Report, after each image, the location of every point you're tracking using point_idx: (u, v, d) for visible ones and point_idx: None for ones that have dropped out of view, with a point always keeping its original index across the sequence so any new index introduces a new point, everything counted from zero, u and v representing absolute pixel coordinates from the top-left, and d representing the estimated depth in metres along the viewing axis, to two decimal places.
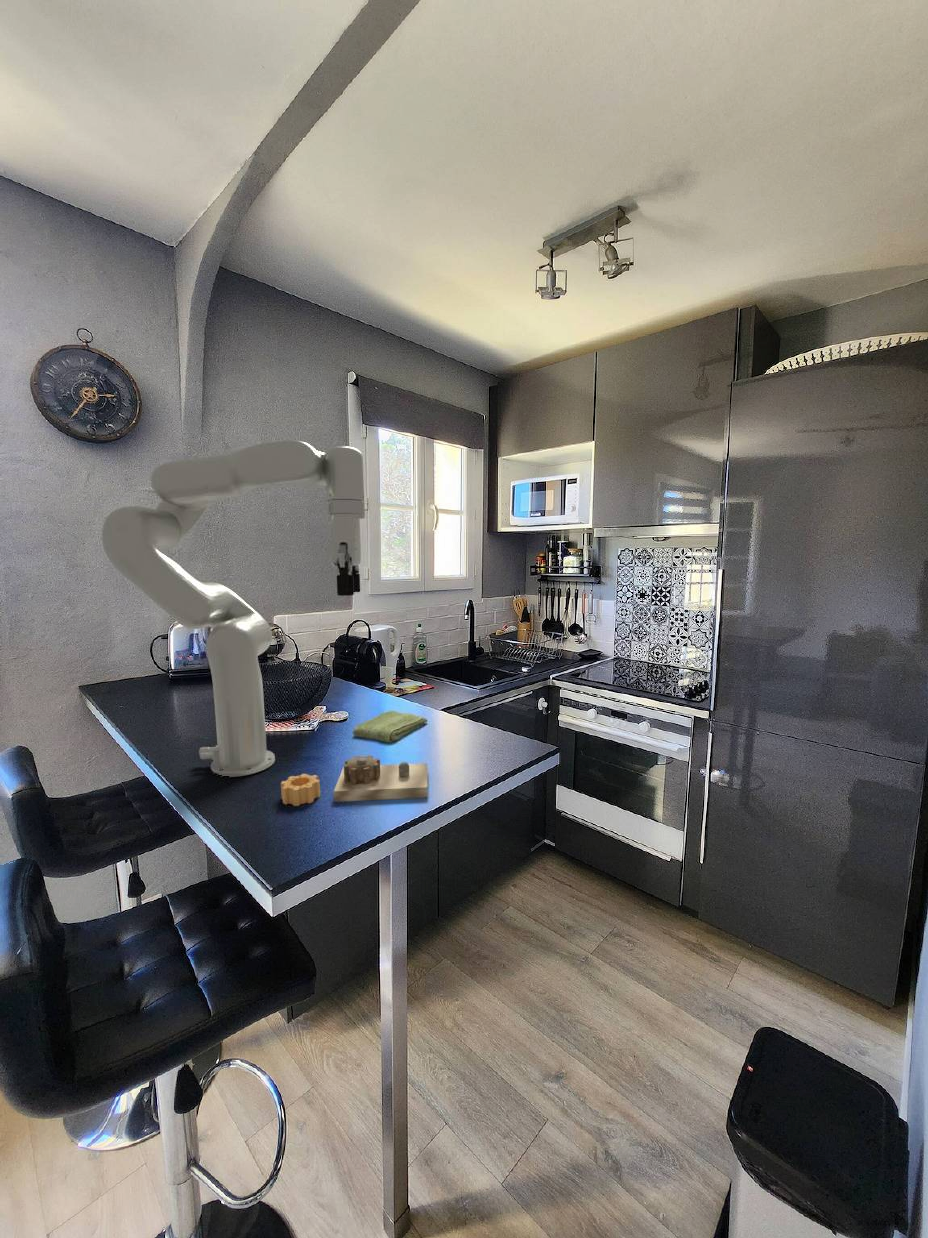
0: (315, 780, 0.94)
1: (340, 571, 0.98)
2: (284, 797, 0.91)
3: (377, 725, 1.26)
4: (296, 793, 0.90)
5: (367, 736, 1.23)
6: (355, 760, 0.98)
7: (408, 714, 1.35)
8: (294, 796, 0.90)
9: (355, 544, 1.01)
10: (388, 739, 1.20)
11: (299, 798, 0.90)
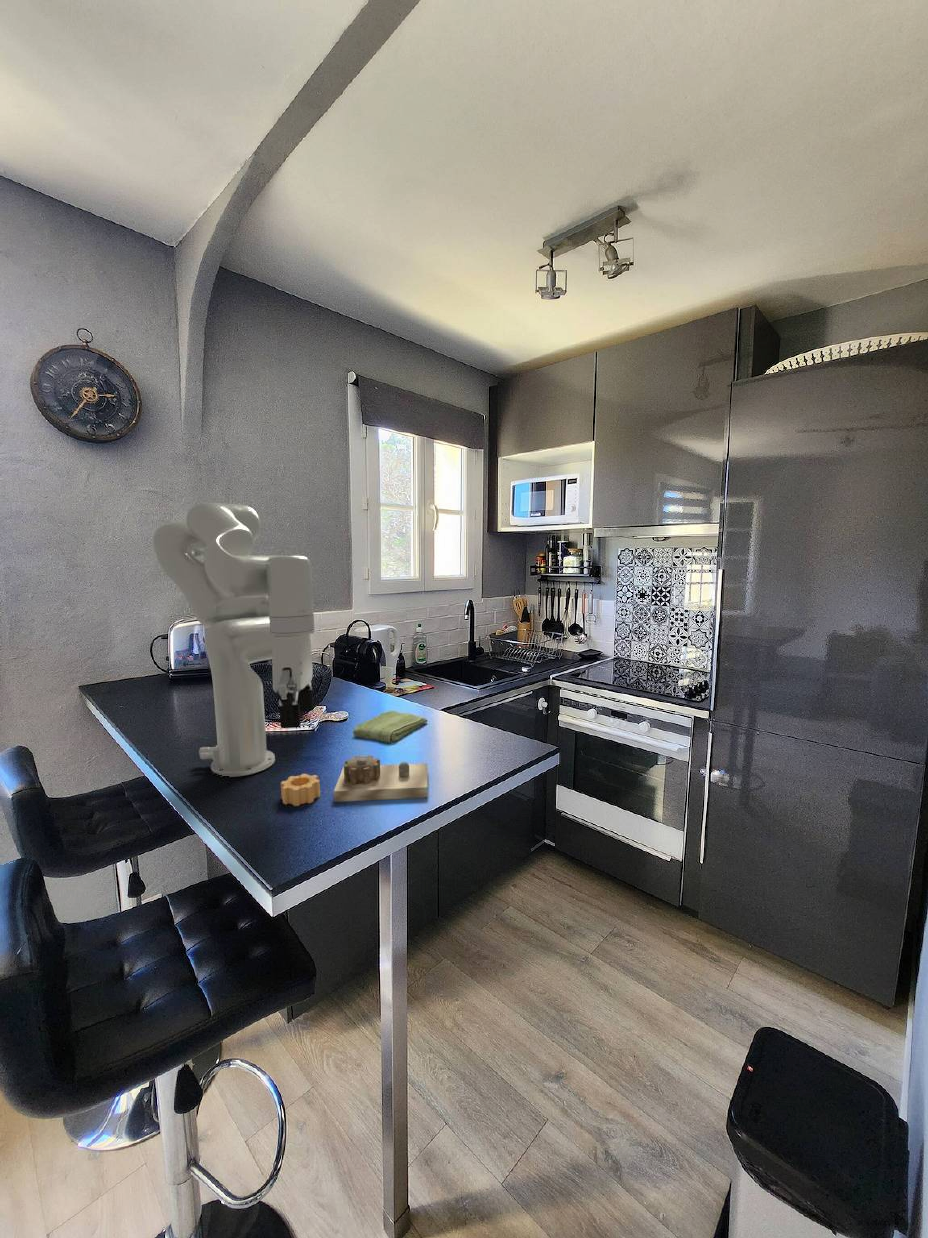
0: (315, 780, 0.94)
1: (282, 703, 0.84)
2: (284, 797, 0.91)
3: (377, 725, 1.25)
4: (296, 793, 0.90)
5: (367, 736, 1.23)
6: (355, 760, 0.98)
7: (408, 714, 1.35)
8: (294, 796, 0.90)
9: (302, 668, 0.87)
10: (388, 739, 1.20)
11: (299, 798, 0.90)
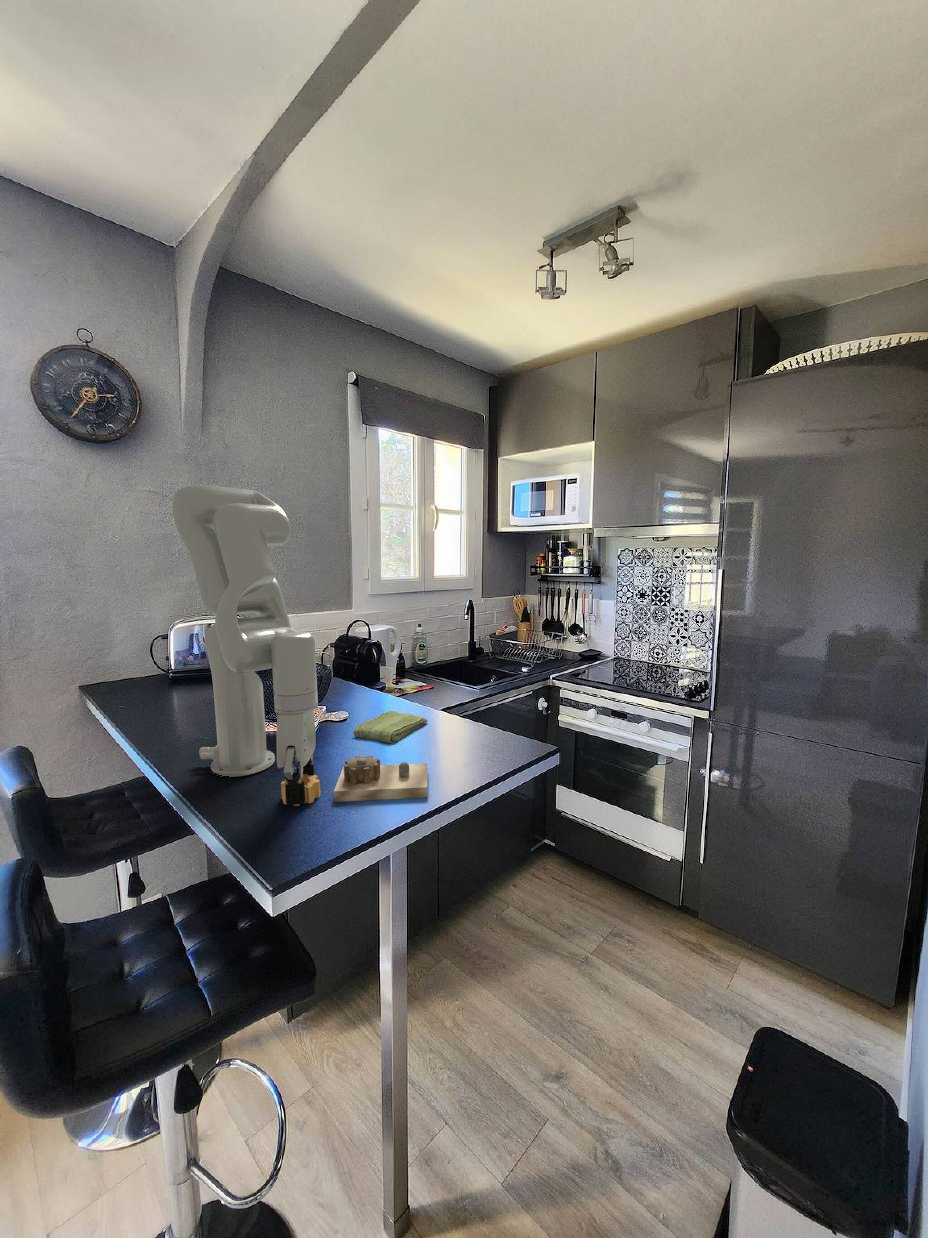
0: (315, 780, 0.94)
1: (288, 782, 0.87)
2: (284, 797, 0.91)
3: (377, 725, 1.25)
4: None
5: (368, 736, 1.23)
6: (355, 760, 0.98)
7: (408, 714, 1.35)
8: None
9: (305, 745, 0.89)
10: (389, 739, 1.20)
11: None
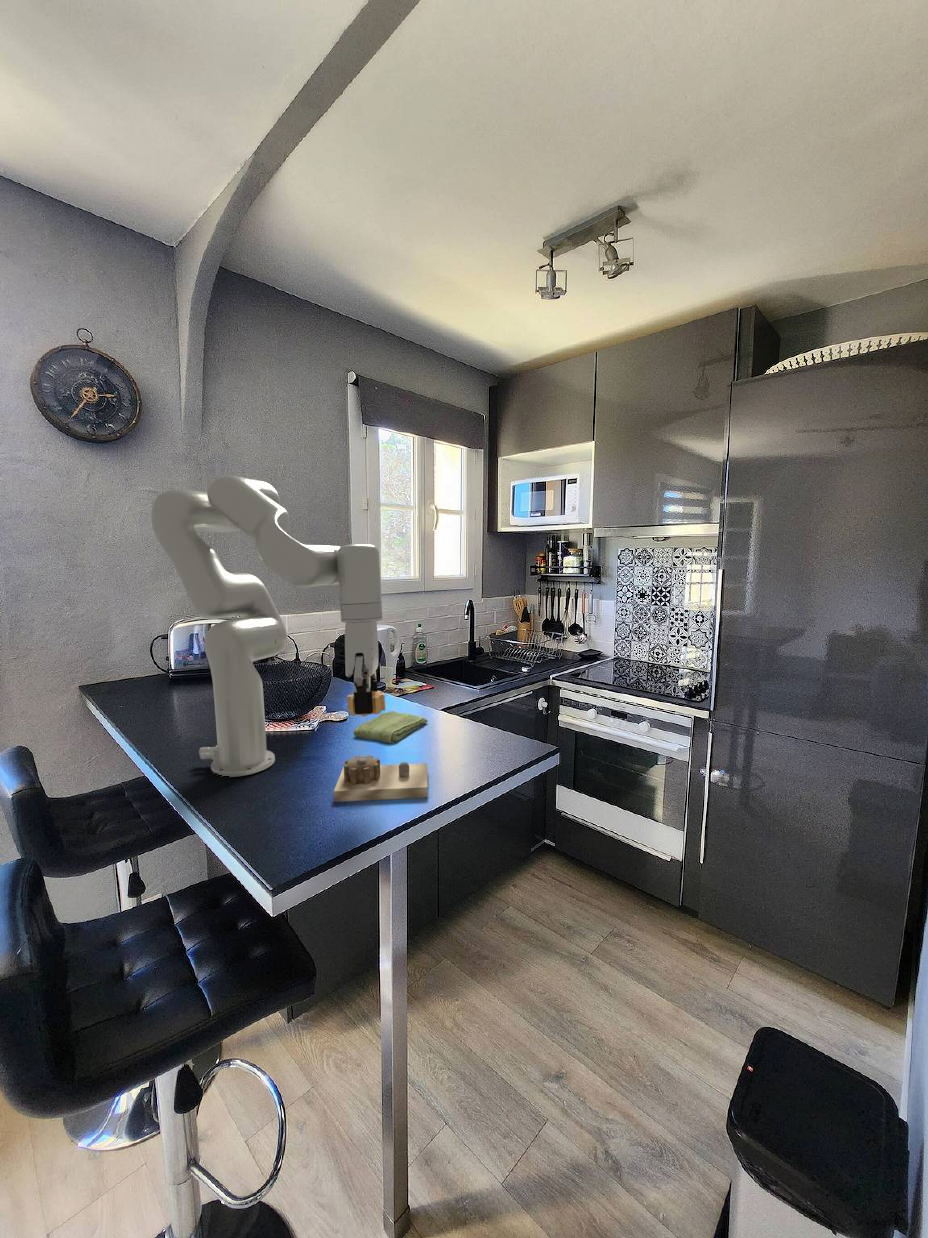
0: (380, 694, 0.94)
1: (357, 689, 0.88)
2: (352, 708, 0.91)
3: (378, 726, 1.25)
4: None
5: (368, 737, 1.23)
6: (355, 760, 0.98)
7: (408, 714, 1.35)
8: None
9: (373, 653, 0.89)
10: (390, 740, 1.20)
11: None
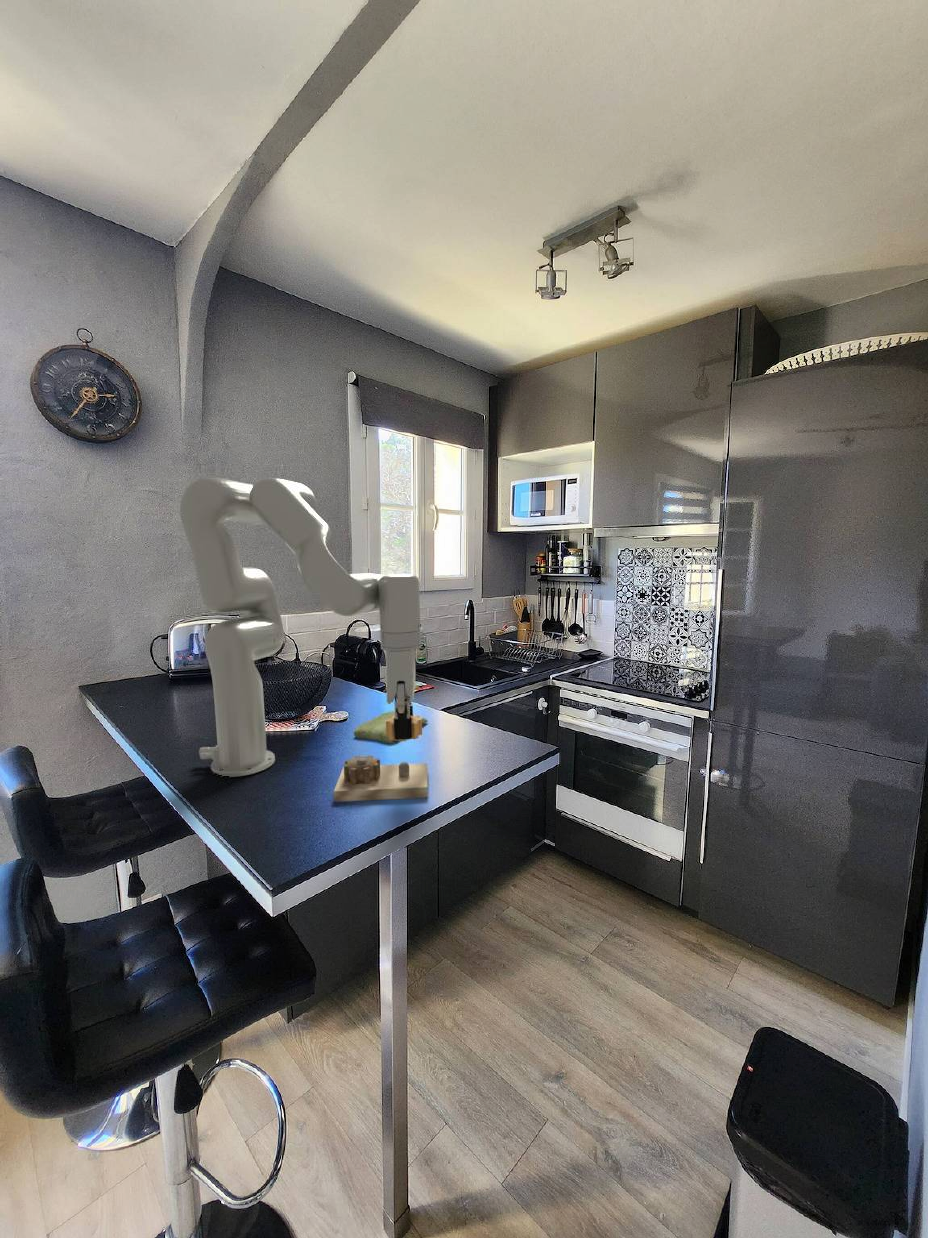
0: (418, 718, 0.97)
1: (398, 716, 0.90)
2: (391, 733, 0.94)
3: (378, 726, 1.25)
4: None
5: (368, 737, 1.23)
6: (355, 760, 0.98)
7: None
8: None
9: (413, 681, 0.92)
10: (390, 740, 1.20)
11: None
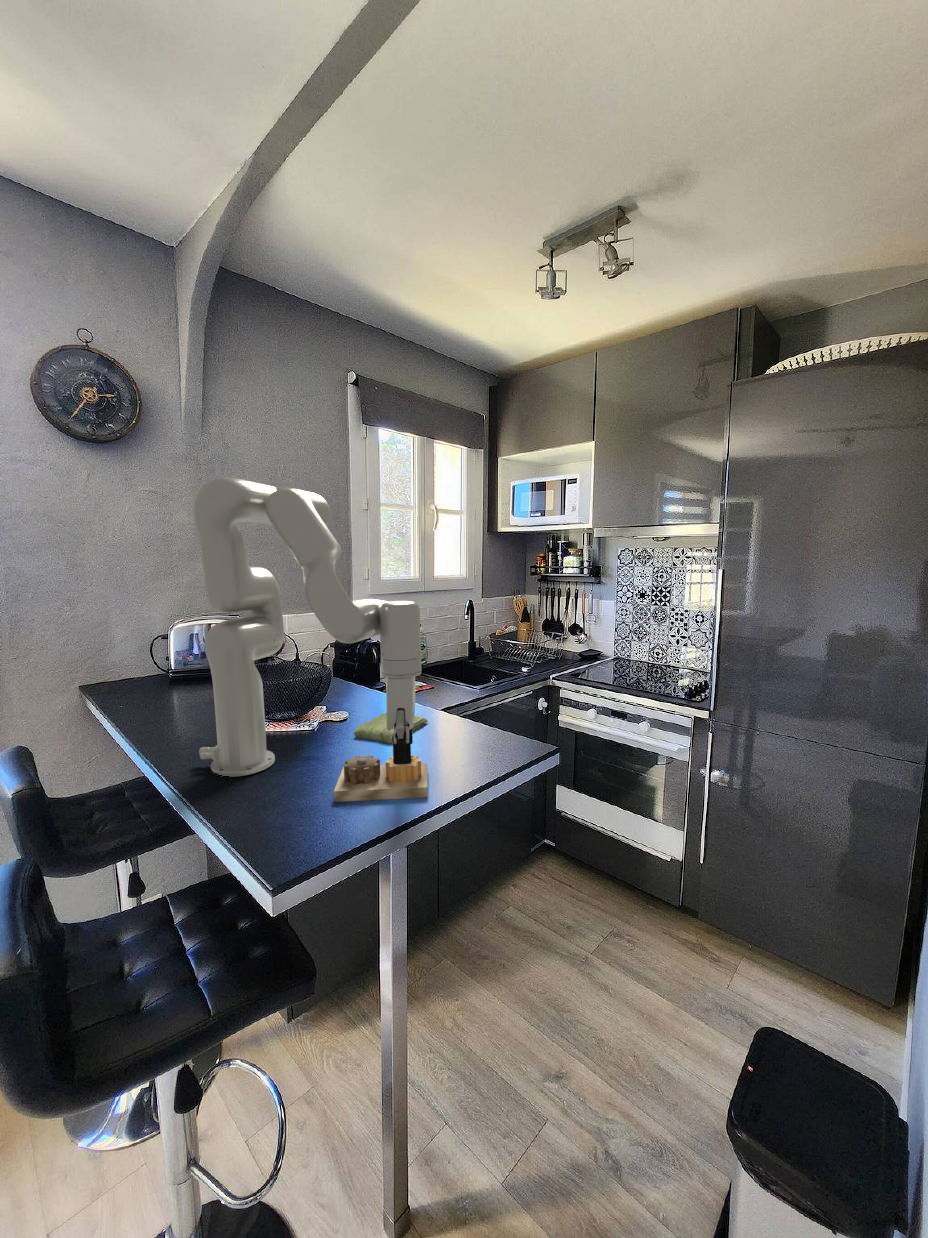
0: (417, 759, 0.98)
1: (398, 741, 0.90)
2: (391, 775, 0.95)
3: (378, 726, 1.25)
4: (403, 771, 0.94)
5: (369, 737, 1.22)
6: (355, 760, 0.98)
7: None
8: (401, 774, 0.94)
9: (413, 708, 0.92)
10: (390, 740, 1.20)
11: (405, 776, 0.94)
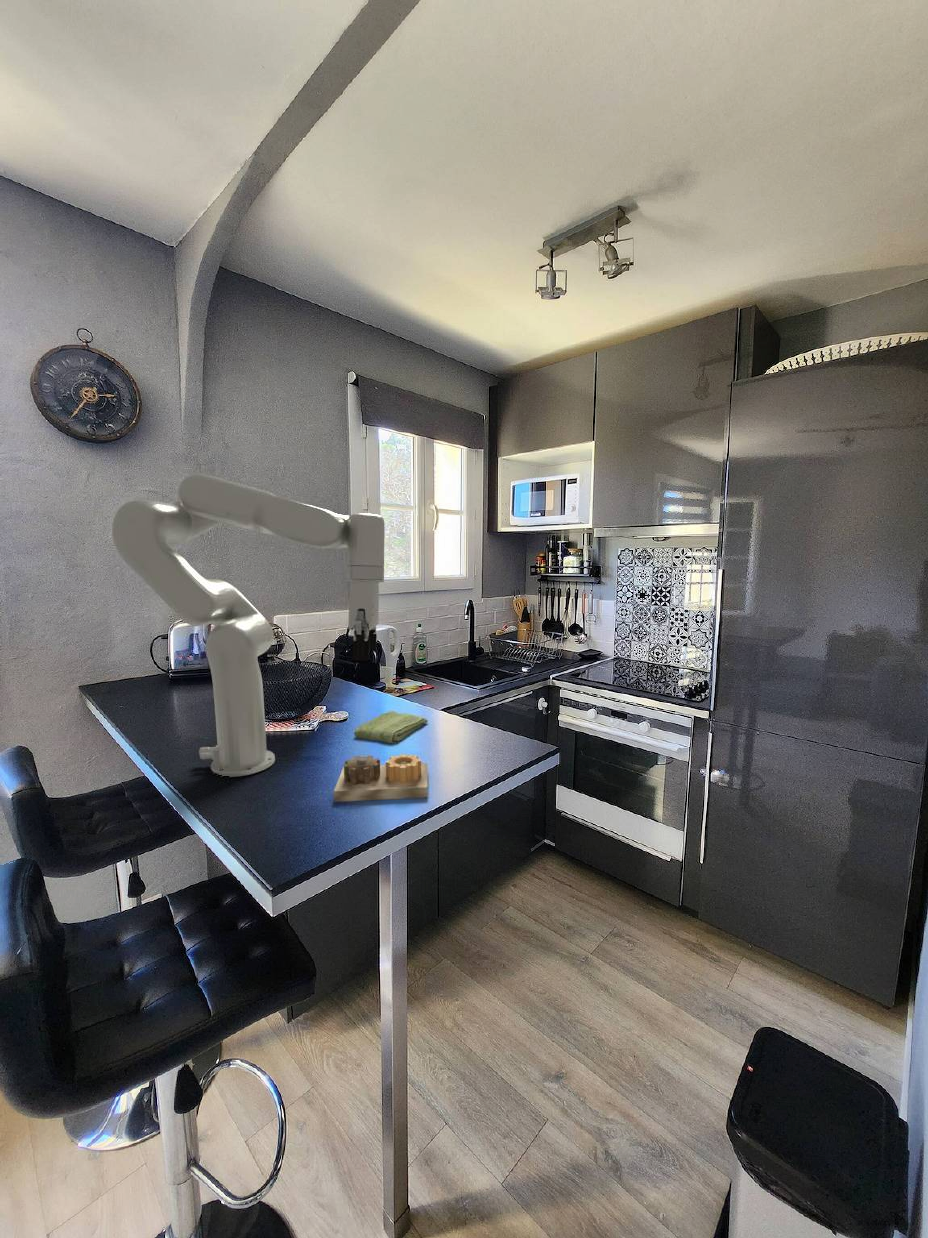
0: (417, 759, 0.98)
1: (356, 638, 0.99)
2: (391, 775, 0.95)
3: (378, 726, 1.25)
4: (403, 771, 0.94)
5: (369, 737, 1.22)
6: (355, 760, 0.98)
7: (408, 714, 1.35)
8: (401, 774, 0.94)
9: (373, 610, 1.02)
10: (391, 740, 1.19)
11: (405, 776, 0.94)
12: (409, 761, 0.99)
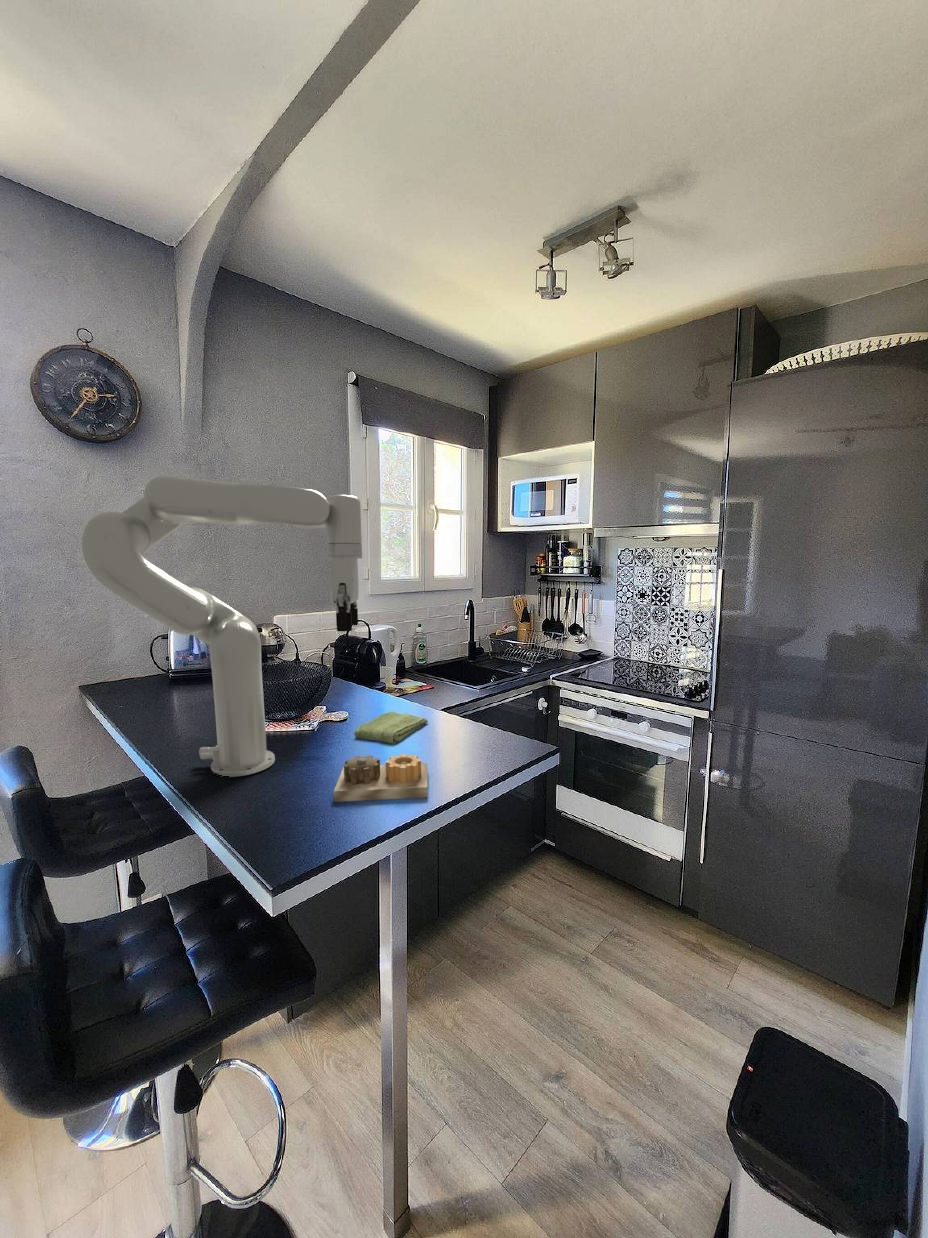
0: (417, 759, 0.98)
1: (339, 609, 1.07)
2: (391, 775, 0.95)
3: (379, 726, 1.25)
4: (403, 771, 0.94)
5: (369, 737, 1.22)
6: (355, 760, 0.98)
7: (408, 715, 1.35)
8: (401, 774, 0.94)
9: (353, 584, 1.10)
10: (391, 740, 1.19)
11: (405, 776, 0.94)
12: (409, 761, 0.99)
